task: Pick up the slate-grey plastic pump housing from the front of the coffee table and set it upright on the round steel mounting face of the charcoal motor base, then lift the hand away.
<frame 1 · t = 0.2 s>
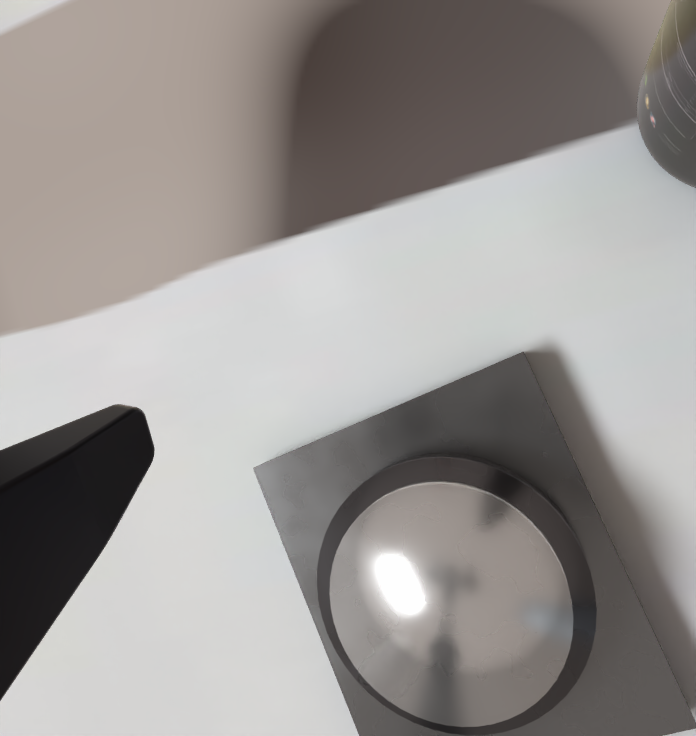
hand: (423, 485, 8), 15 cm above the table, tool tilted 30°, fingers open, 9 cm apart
motor base: (453, 573, 22), on the table
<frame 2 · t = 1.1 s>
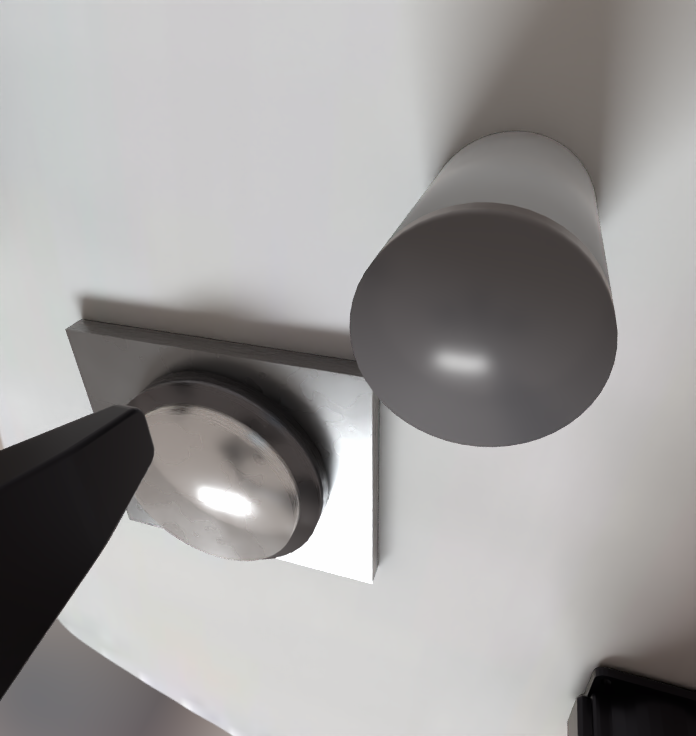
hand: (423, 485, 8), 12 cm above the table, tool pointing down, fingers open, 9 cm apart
pump housing: (507, 218, 17), on the table
motor base: (236, 449, 26), on the table
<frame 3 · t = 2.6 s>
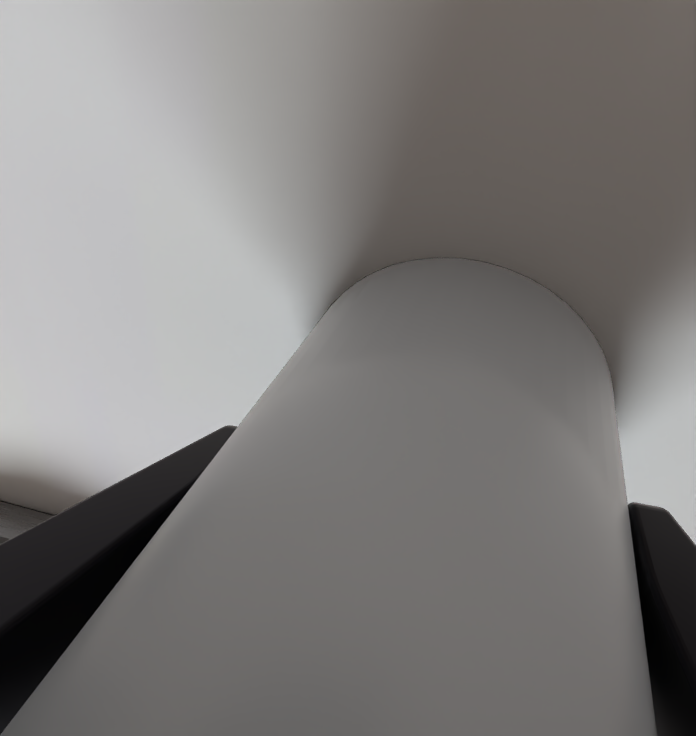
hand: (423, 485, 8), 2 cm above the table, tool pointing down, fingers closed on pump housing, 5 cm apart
pump housing: (447, 400, 9), on the table, touching gripper
motor base: (98, 636, 19), on the table
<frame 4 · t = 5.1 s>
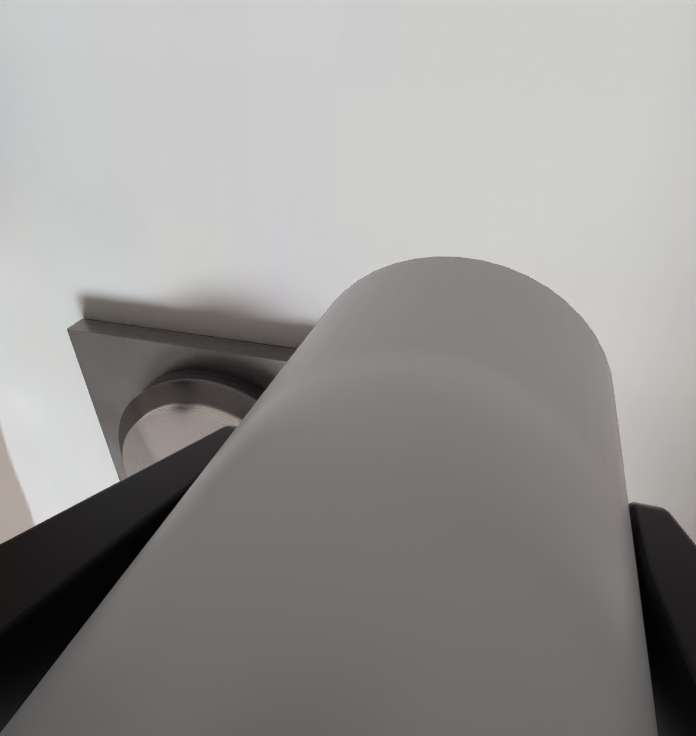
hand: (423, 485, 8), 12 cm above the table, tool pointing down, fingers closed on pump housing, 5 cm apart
pump housing: (448, 399, 9), point 10 cm above the table, touching gripper
motor base: (239, 447, 27), on the table
when the fingers open (6 cm above the table, at t = 7.7 s): pump housing drops 1 cm, resting on motor base.
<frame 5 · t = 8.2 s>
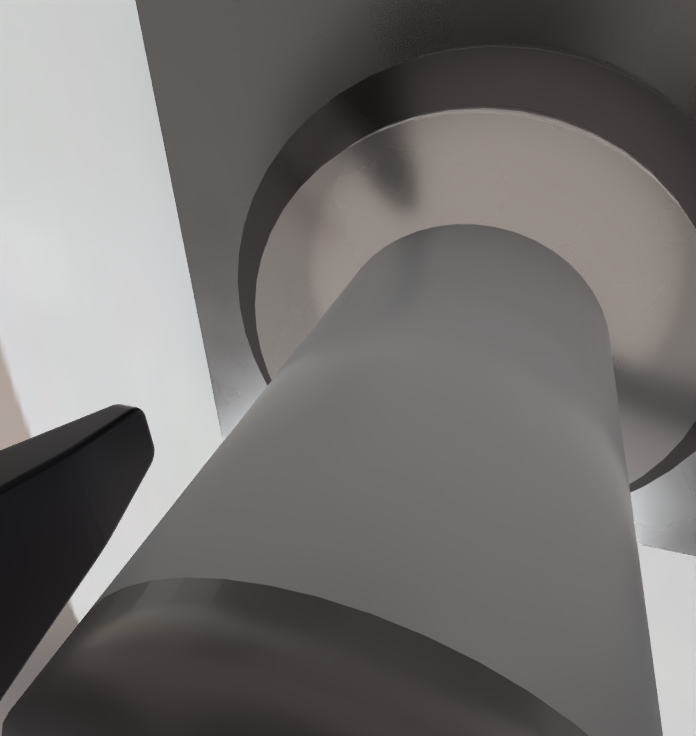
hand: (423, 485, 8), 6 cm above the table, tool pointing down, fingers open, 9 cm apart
pump housing: (462, 355, 10), point 3 cm above the table, touching motor base
motor base: (478, 290, 13), on the table
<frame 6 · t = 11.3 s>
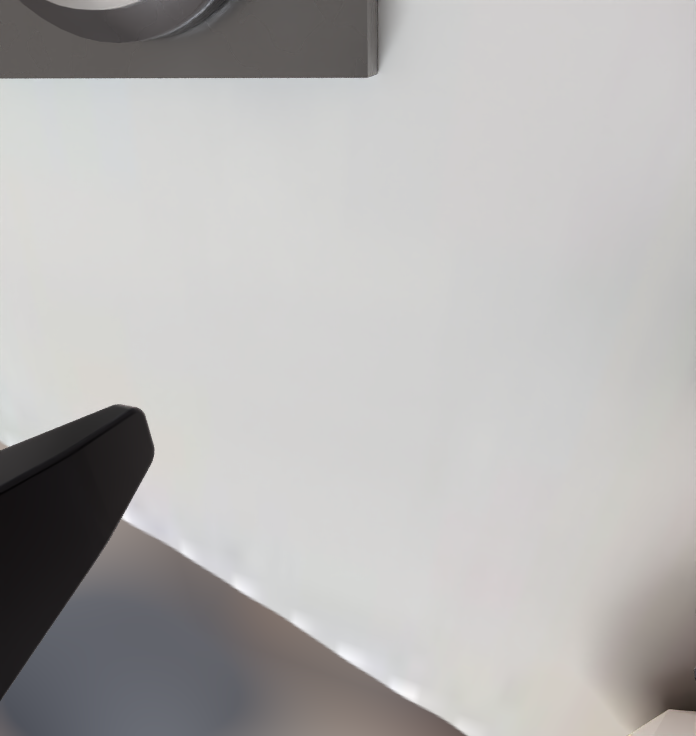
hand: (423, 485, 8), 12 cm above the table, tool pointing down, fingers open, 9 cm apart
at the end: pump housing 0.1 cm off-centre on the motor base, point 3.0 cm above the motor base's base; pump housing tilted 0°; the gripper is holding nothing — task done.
